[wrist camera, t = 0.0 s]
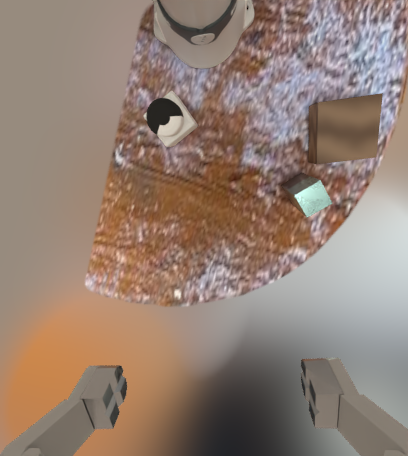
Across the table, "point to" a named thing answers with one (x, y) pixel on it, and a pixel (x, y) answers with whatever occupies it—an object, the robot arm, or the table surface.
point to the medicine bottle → (170, 119)
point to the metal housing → (306, 194)
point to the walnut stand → (344, 129)
